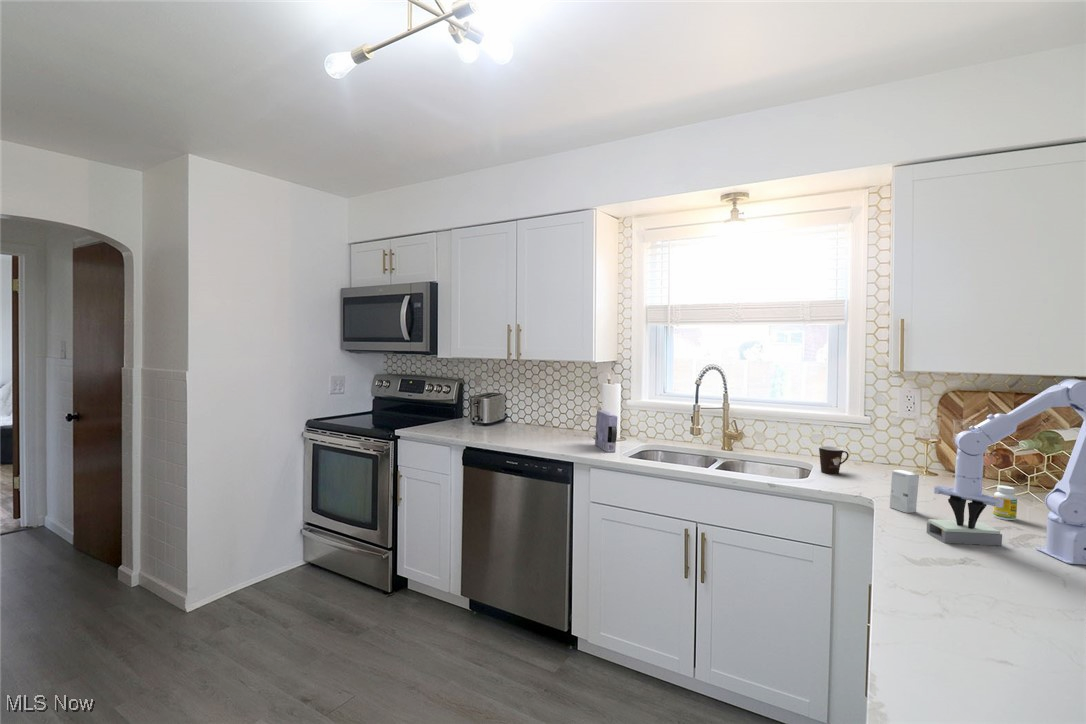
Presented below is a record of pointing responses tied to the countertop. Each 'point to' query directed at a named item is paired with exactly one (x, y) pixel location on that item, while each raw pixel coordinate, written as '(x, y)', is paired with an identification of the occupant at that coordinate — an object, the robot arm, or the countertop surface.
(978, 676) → the countertop surface
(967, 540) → the grey open tray
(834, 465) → the coffee mug
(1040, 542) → the countertop surface
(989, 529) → the cover
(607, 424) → the cake pan box
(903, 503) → the skincare box
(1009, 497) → the supplement bottle
